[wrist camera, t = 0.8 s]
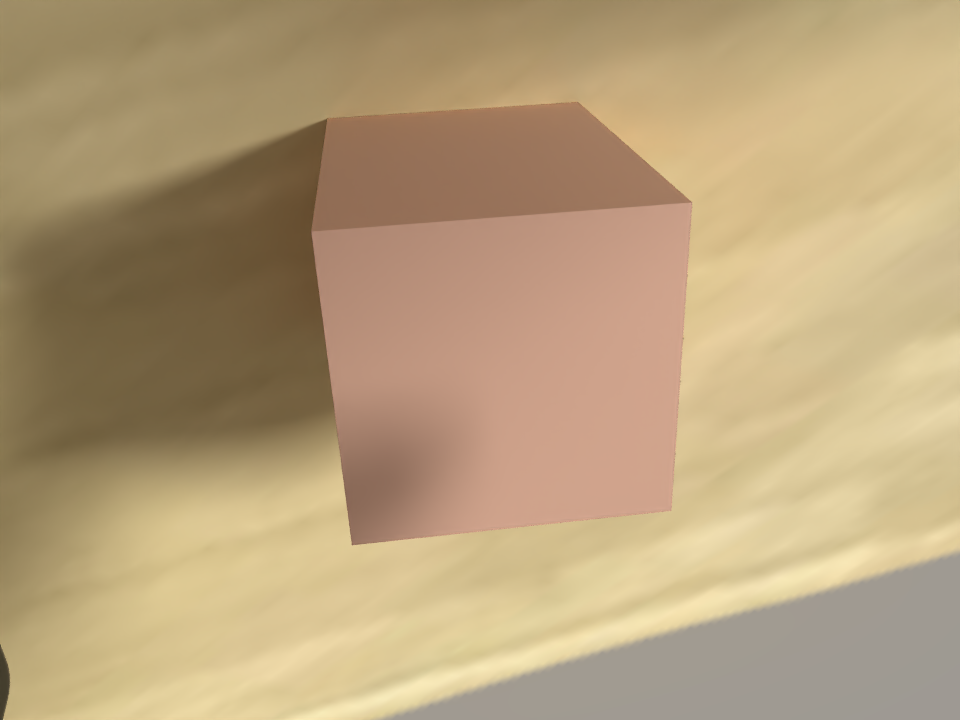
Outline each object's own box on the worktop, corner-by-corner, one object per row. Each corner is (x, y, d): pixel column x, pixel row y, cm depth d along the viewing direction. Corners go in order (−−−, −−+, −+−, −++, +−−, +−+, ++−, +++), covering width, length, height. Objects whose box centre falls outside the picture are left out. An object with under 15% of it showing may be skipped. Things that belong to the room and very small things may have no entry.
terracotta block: (577, 101, 18) (692, 202, 12) (575, 327, 20) (671, 511, 14) (327, 117, 18) (310, 232, 12) (353, 346, 20) (351, 545, 14)
